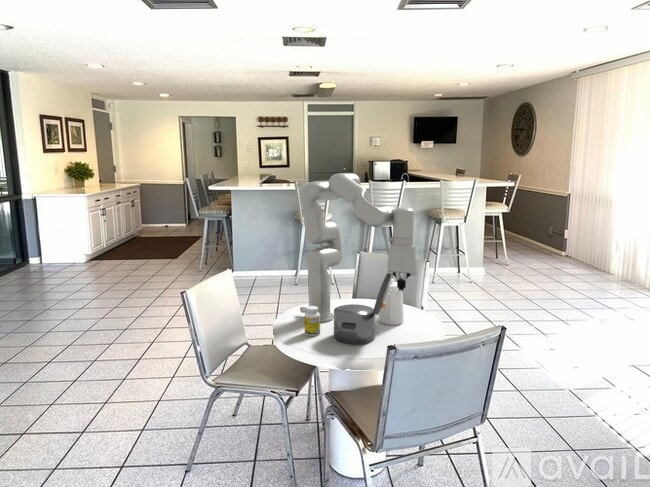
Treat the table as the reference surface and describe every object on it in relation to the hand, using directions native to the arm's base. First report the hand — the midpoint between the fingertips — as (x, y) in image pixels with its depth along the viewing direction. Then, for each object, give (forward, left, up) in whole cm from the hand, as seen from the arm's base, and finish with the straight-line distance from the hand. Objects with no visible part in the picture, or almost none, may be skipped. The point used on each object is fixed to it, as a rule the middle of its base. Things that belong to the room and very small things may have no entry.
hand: (401, 289), depth 178 cm
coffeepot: (-7, +22, -21) cm, 31 cm away
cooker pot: (-18, 0, -21) cm, 28 cm away
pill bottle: (-35, -1, -21) cm, 41 cm away
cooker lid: (-8, 0, -2) cm, 8 cm away
